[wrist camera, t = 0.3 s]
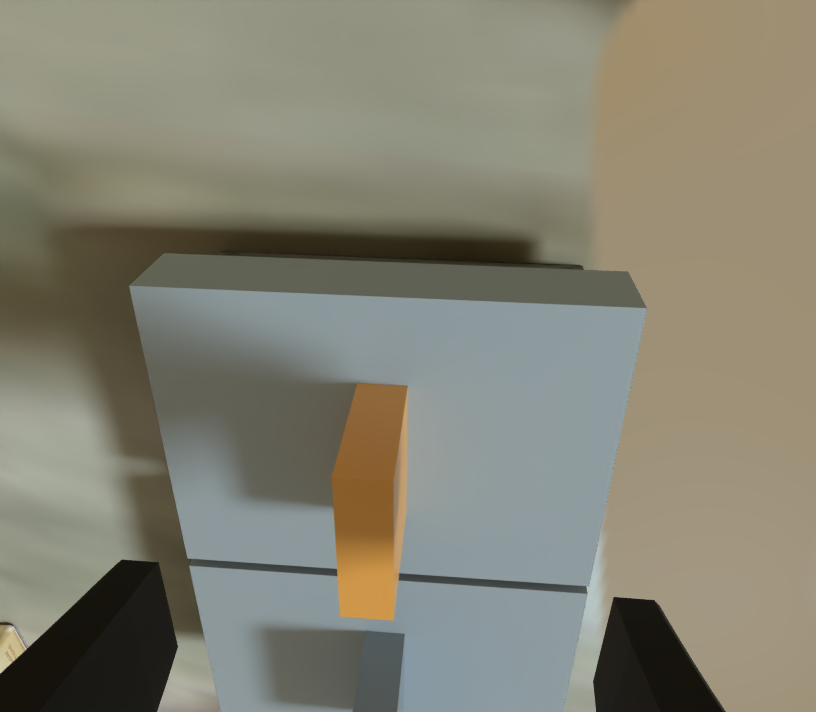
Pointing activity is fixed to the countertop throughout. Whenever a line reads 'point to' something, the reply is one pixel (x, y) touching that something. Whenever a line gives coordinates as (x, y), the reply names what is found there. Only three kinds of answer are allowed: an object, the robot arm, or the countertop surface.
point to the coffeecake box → (9, 646)
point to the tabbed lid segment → (389, 414)
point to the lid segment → (385, 642)
